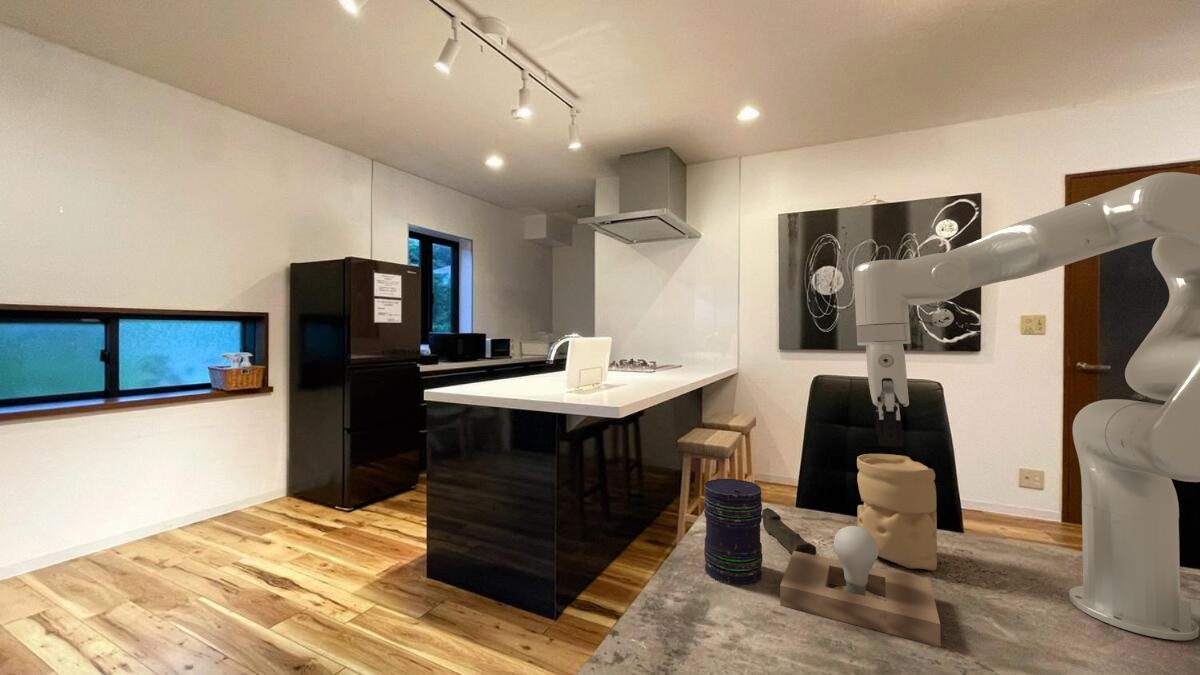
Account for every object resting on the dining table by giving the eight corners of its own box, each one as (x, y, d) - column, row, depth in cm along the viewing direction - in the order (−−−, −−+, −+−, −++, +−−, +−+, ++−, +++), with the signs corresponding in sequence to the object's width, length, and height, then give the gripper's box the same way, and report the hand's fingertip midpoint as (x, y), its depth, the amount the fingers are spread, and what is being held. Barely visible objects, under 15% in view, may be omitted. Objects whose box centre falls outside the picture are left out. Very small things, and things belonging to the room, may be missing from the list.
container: (912, 544, 94) (911, 454, 94) (953, 575, 81) (952, 471, 82) (846, 542, 95) (845, 452, 95) (877, 572, 82) (876, 469, 83)
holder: (929, 597, 74) (929, 578, 74) (940, 647, 62) (940, 624, 62) (793, 567, 84) (793, 550, 84) (780, 604, 72) (780, 585, 72)
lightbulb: (825, 593, 75) (824, 523, 75) (852, 585, 77) (852, 517, 77) (859, 613, 69) (858, 537, 69) (888, 604, 71) (887, 531, 71)
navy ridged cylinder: (699, 558, 88) (699, 478, 88) (752, 559, 87) (752, 478, 88) (710, 585, 78) (710, 495, 78) (770, 586, 77) (770, 495, 78)
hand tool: (817, 566, 85) (817, 540, 85) (795, 566, 85) (795, 540, 85) (776, 526, 104) (776, 505, 104) (758, 526, 104) (758, 505, 104)
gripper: (916, 334, 68) (923, 452, 68) (904, 335, 83) (910, 432, 83) (857, 336, 72) (863, 449, 71) (856, 337, 87) (862, 430, 87)
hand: (889, 440), depth 77 cm, fingers open, 9 cm apart
